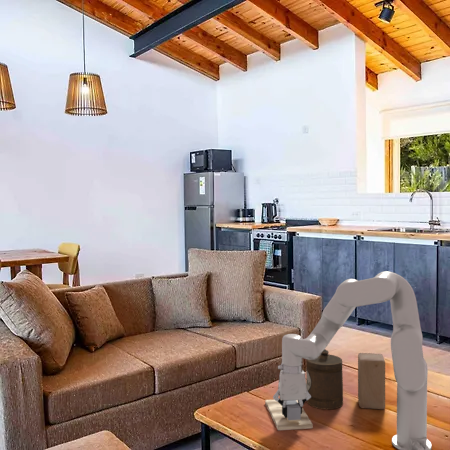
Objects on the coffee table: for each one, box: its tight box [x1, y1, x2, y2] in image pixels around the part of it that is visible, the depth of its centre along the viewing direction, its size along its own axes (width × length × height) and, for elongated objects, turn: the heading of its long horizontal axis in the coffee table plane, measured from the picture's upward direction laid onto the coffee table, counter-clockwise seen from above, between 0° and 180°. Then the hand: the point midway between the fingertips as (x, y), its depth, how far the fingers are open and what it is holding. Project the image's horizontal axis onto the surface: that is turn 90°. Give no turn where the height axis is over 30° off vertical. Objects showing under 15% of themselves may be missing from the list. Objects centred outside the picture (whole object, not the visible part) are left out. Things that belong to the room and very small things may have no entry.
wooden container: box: [305, 348, 344, 410], centre depth 205 cm, size 15×15×22 cm
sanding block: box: [286, 400, 301, 422], centre depth 186 cm, size 8×4×5 cm, turn 6°
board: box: [264, 399, 314, 431], centre depth 194 cm, size 24×13×2 cm, turn 6°
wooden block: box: [357, 352, 386, 410], centre depth 202 cm, size 10×10×20 cm
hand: (292, 415), depth 186 cm, fingers closed on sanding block, 4 cm apart
